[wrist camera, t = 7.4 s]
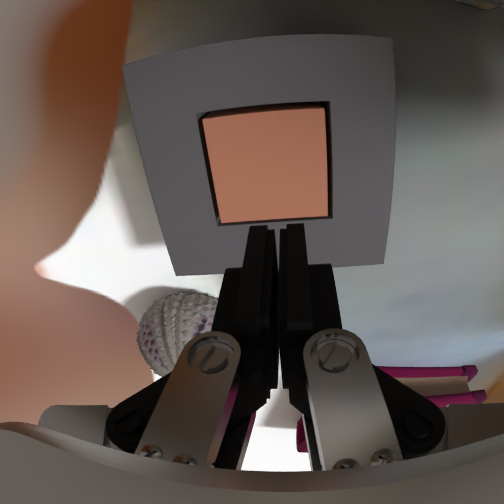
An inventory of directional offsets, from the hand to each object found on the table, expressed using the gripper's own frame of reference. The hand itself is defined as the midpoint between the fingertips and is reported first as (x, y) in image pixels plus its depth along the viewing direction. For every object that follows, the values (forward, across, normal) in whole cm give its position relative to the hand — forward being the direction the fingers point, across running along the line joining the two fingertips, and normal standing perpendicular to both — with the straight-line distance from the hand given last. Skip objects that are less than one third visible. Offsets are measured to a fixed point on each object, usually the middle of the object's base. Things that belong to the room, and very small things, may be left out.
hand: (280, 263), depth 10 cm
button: (+13, +1, 0) cm, 13 cm away
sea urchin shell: (+15, +11, +20) cm, 28 cm away
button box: (+15, +1, 0) cm, 16 cm away
